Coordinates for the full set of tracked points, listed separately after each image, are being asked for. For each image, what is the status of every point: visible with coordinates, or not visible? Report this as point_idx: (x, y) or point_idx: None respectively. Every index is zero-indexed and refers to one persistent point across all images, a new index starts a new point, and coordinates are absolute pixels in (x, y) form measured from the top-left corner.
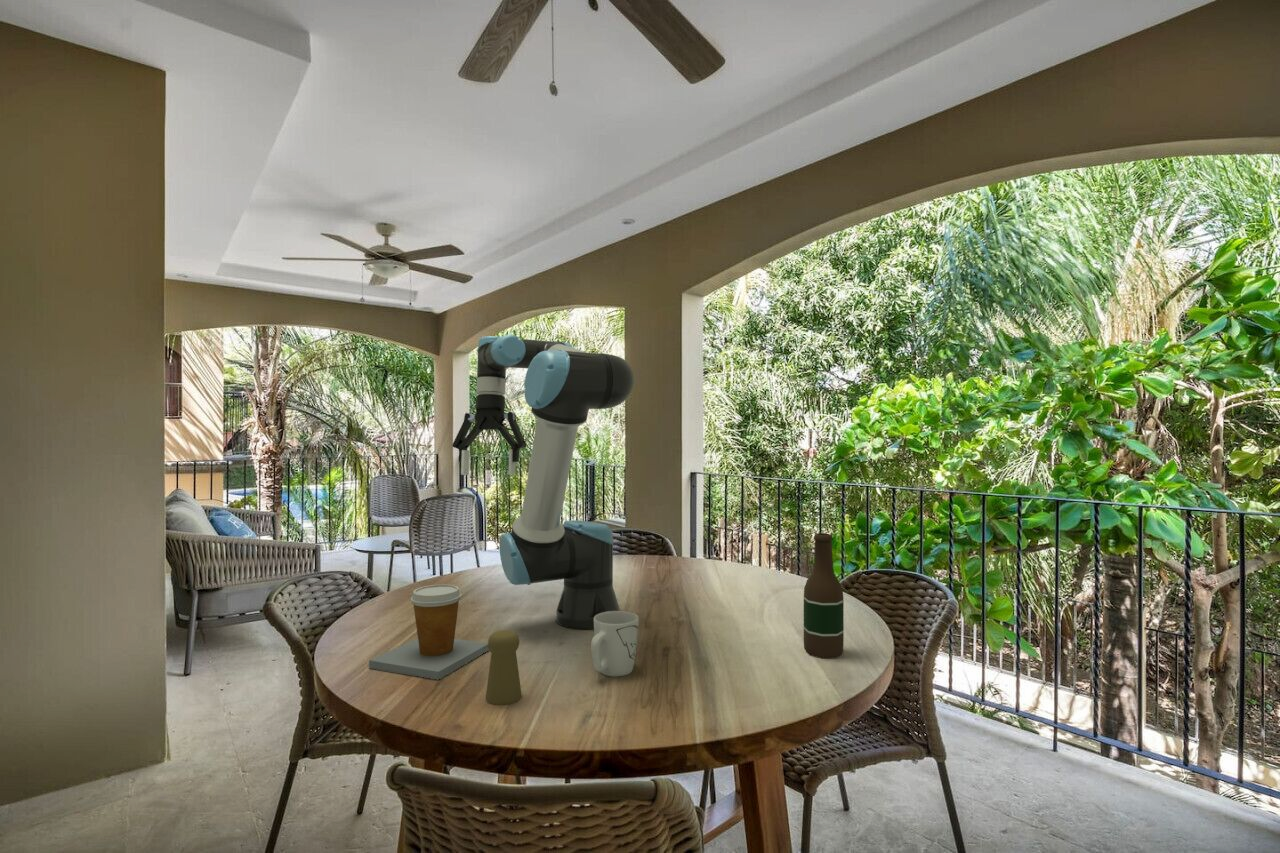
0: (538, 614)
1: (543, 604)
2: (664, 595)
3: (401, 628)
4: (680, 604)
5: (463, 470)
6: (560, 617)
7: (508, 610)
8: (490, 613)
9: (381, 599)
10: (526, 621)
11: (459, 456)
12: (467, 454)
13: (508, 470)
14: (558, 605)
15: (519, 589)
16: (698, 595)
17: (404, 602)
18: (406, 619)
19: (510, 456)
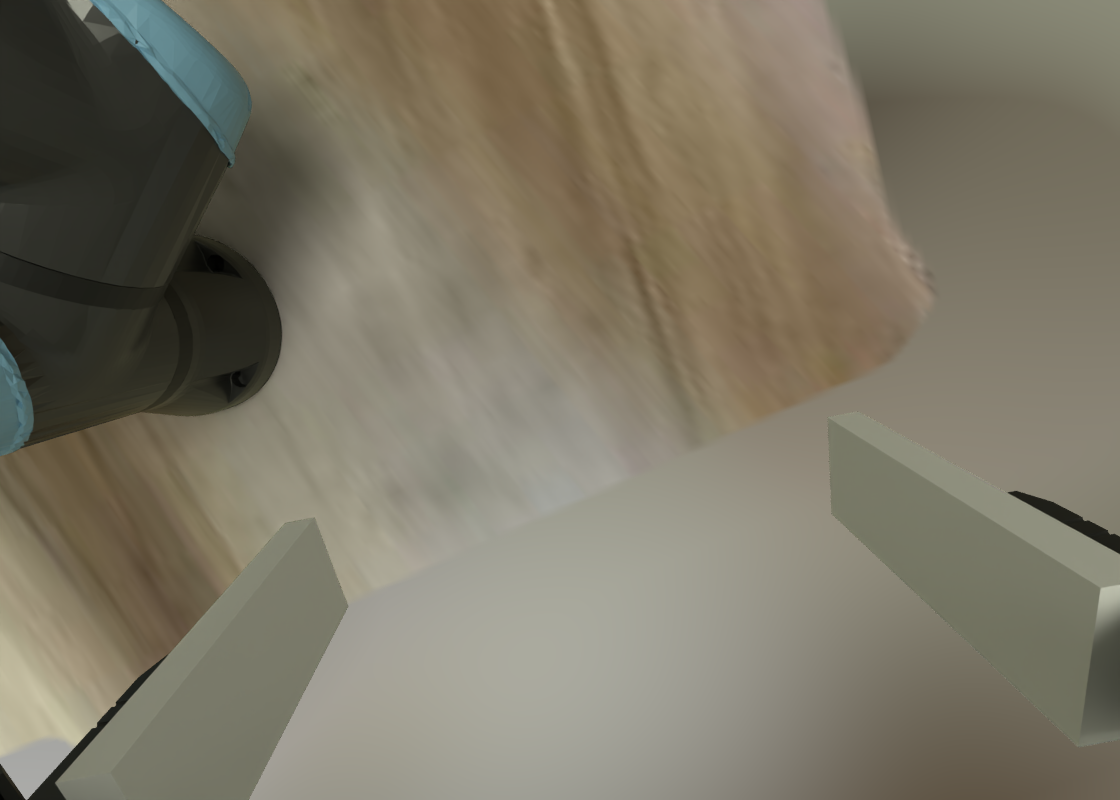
0: (345, 307)
1: (395, 397)
2: (153, 613)
3: (607, 15)
4: (67, 553)
5: (855, 433)
6: (211, 243)
7: (446, 303)
8: (473, 255)
9: (884, 227)
10: (332, 236)
11: (1102, 538)
12: (1018, 636)
13: (292, 541)
14: (228, 275)
15: (560, 500)
16: (74, 649)
17: (791, 233)
18: (657, 93)
19: (167, 670)
